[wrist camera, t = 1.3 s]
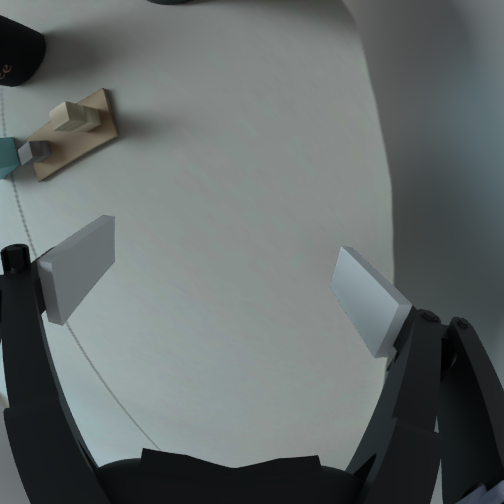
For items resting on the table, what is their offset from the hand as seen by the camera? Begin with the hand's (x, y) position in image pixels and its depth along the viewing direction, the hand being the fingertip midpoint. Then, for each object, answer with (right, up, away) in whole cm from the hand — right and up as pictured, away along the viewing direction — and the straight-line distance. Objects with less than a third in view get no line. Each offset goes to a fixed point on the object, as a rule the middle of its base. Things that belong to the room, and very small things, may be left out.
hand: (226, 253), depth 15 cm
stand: (-26, +18, +17) cm, 36 cm away
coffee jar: (-38, +34, +11) cm, 52 cm away
